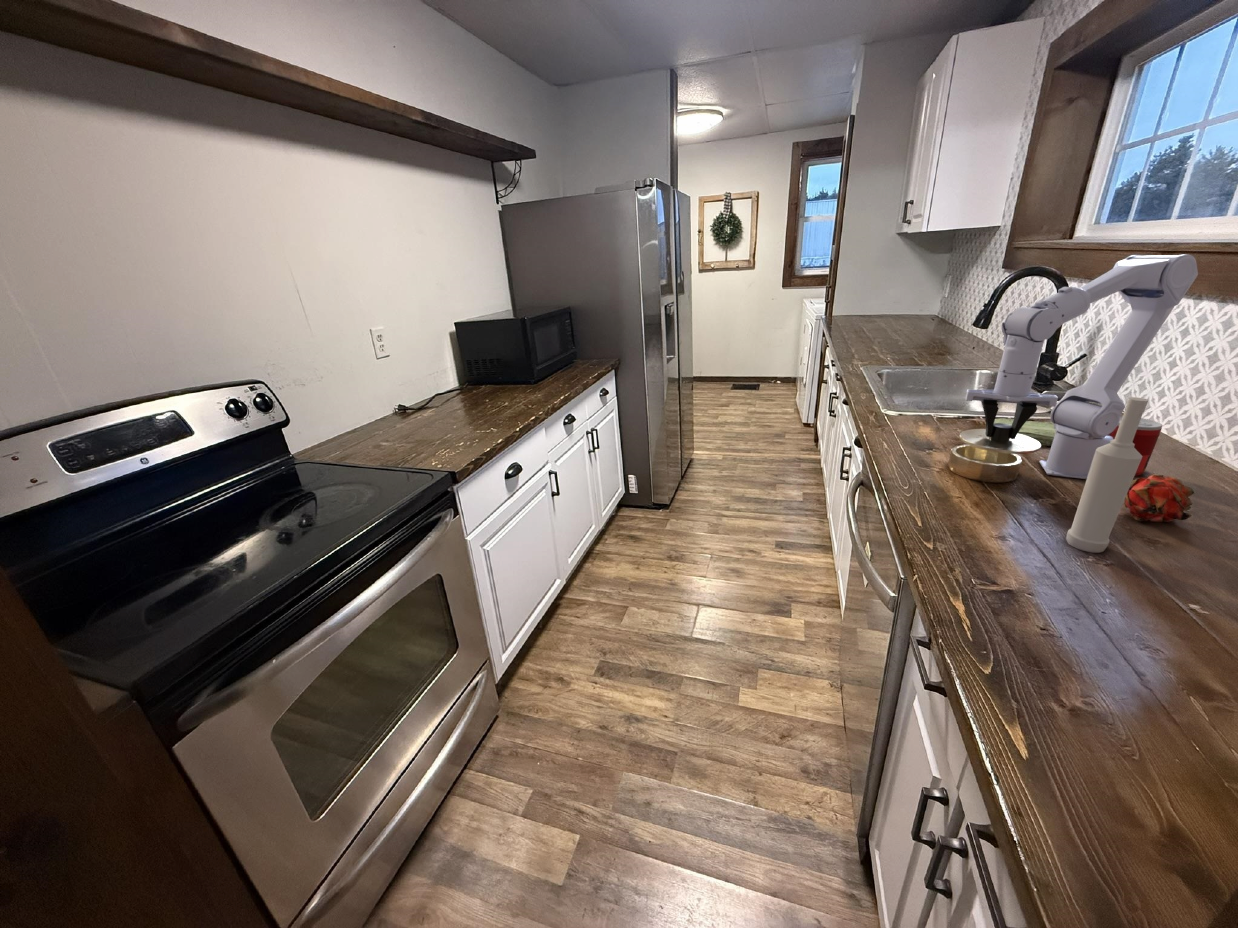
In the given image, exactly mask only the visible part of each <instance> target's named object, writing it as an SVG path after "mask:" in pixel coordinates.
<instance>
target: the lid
mask: <svg viewBox="0 0 1238 928" xmlns="http://www.w3.org/2000/svg"><path fill="white" fill-rule="evenodd" d="M1012 429H1013V426H1011V425H1008V424H1003V423H994V425H993V431H992V435H991V437H987V436H986V434H985V433H986V428H971V429H967V430H963V431H961V432H960V433H959V436H958V438H959V440H960V441H961V442H962V443H964V444H965V445H970V446H973V447H976V448H979V449H983V450H988V451H993V452H999V453H1009V454H1017V455H1022V454H1023V455H1024V454H1025V455H1027V454H1033V453H1037V452H1039V451H1040V450H1041V448H1042V445H1041V444H1040V443H1039V442H1038V441H1037V440H1035V439H1033V438H1031V437H1028V436H1025V435H1022V434H1017V435H1016V437H1015V439H1010V436H1011V432H1012Z"/></svg>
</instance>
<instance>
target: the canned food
mask: <svg viewBox="0 0 1238 928" xmlns="http://www.w3.org/2000/svg"><path fill="white" fill-rule="evenodd" d="M1122 417H1123V416H1120V420H1119V423H1118V425H1117V427H1116V428H1115V430H1114V431H1113V432H1111V433H1110V434H1108V435H1107V436H1111V437H1113V439H1115V437H1116V434H1117V431H1118V428H1119V426H1120V423H1121V420H1122ZM1162 428H1163V424H1162V423H1160V422H1158V421H1155V420H1153V419H1148V418H1142V417H1141V420H1140V422H1139V425H1138V428H1137V431H1136V433H1135V436H1134V439H1133V443H1134V444H1135V445H1134V448H1135V449H1136V450H1137V451H1138V452H1139V453H1140V454H1141V455H1142V456H1143V457H1142V459H1141V461H1140V464H1139V466H1138V468H1137V471H1136V473H1135V476H1134V477H1136V476H1137V477H1138V476H1141V475H1142V474H1144V473H1145V472H1146V468H1147V467H1148V464H1149V461H1150V459H1151V457H1152V455H1153V452H1154V449H1155V447H1156V444H1157V442H1158V440H1159V437H1160V435H1161V432H1162Z"/></svg>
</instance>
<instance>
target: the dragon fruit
mask: <svg viewBox="0 0 1238 928" xmlns="http://www.w3.org/2000/svg"><path fill="white" fill-rule="evenodd" d="M1194 494H1195V491H1194V490H1193V488H1192V487H1190V486H1187V485H1185V484H1183V482H1182V480H1180V479H1179V478H1177V477H1174V476H1173V477H1172V476H1164V475H1163V474H1158V473H1155V474H1151V475H1149V476H1148V477H1147V478H1144V477H1138V478H1135V479H1133V480H1132V483H1131V485H1130V488H1129V490H1128V492H1127V495H1126V497H1125V499H1124V507H1125V508H1126V509H1129V513H1130V514H1131V517H1132V518H1133V519H1134V520H1135V521H1138V522H1140V523H1142V521H1143V522H1147V521H1150V522H1156V523H1161V522H1163V523H1169V522H1172V521H1175V520H1178V521H1186V520H1188V519H1189V518H1192V514H1191V513H1188V512H1186V511H1189V510H1190V509H1191V508H1192V507H1191V506H1193V502H1192V500H1191V498H1190V497H1192V495H1194Z"/></svg>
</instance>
